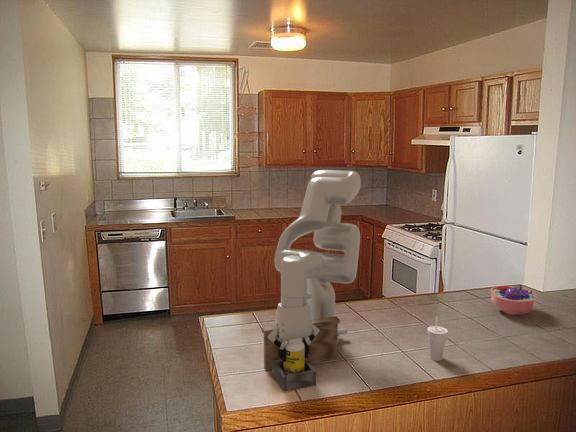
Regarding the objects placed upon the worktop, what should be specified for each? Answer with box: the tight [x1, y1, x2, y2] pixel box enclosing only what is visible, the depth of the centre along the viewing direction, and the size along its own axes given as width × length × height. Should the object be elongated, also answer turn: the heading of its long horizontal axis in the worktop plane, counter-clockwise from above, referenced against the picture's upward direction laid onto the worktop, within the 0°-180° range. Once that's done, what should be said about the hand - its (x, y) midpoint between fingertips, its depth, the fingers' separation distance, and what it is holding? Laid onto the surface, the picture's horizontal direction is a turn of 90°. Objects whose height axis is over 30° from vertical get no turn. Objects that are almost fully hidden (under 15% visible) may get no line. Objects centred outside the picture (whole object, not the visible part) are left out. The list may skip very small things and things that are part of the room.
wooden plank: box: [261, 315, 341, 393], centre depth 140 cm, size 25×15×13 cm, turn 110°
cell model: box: [490, 285, 538, 316], centre depth 188 cm, size 17×20×11 cm
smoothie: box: [426, 316, 449, 362], centre depth 149 cm, size 6×6×14 cm
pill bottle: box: [284, 338, 305, 374], centre depth 135 cm, size 6×6×11 cm
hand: (294, 357), depth 136 cm, fingers closed on pill bottle, 6 cm apart
